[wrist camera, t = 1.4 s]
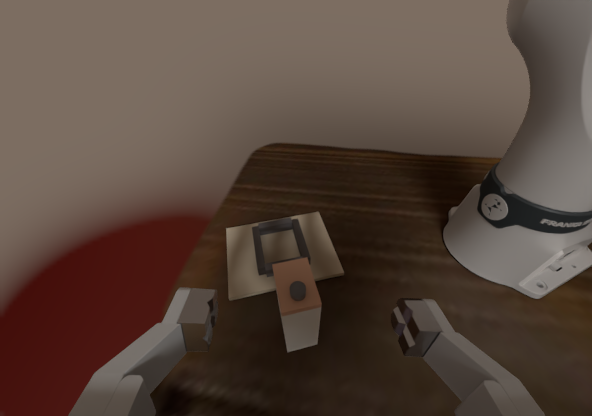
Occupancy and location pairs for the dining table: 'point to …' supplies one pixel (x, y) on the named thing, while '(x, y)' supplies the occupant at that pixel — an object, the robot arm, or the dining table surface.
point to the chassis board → (277, 252)
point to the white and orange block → (298, 303)
